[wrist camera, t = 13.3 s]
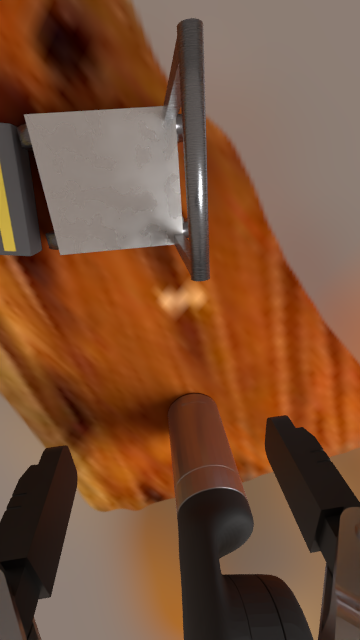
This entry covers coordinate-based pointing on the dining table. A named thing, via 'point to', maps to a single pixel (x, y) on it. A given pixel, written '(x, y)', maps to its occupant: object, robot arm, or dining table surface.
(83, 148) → the trolley
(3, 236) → the block
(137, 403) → the dining table surface
